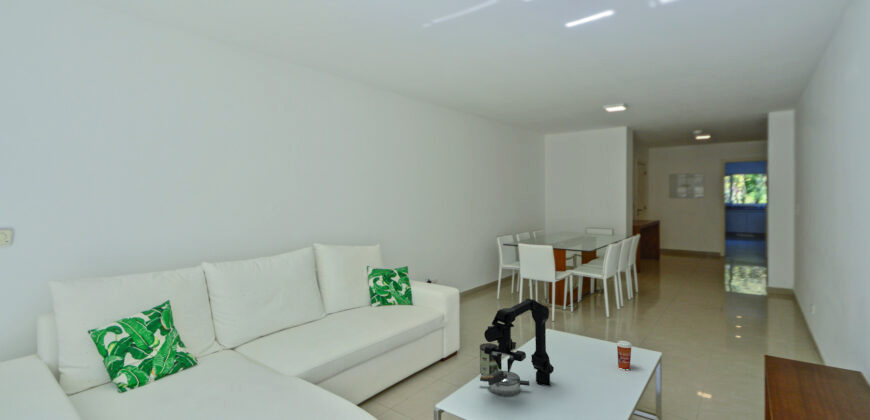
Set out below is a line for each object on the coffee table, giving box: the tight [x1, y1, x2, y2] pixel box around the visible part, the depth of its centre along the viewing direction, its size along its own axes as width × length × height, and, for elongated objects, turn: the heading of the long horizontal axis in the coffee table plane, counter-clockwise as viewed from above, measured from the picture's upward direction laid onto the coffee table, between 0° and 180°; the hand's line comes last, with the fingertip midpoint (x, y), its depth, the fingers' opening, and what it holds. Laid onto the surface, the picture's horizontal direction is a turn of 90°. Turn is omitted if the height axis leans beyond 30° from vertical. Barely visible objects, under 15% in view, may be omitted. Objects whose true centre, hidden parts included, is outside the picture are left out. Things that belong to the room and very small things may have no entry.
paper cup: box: [616, 340, 633, 370], centre depth 224 cm, size 8×8×14 cm
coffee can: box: [479, 342, 500, 377], centre depth 219 cm, size 10×10×14 cm
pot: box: [479, 375, 530, 398], centre depth 200 cm, size 24×15×5 cm, turn 76°
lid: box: [487, 370, 521, 386], centre depth 198 cm, size 19×15×5 cm
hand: (504, 370), depth 190 cm, fingers open, 4 cm apart
